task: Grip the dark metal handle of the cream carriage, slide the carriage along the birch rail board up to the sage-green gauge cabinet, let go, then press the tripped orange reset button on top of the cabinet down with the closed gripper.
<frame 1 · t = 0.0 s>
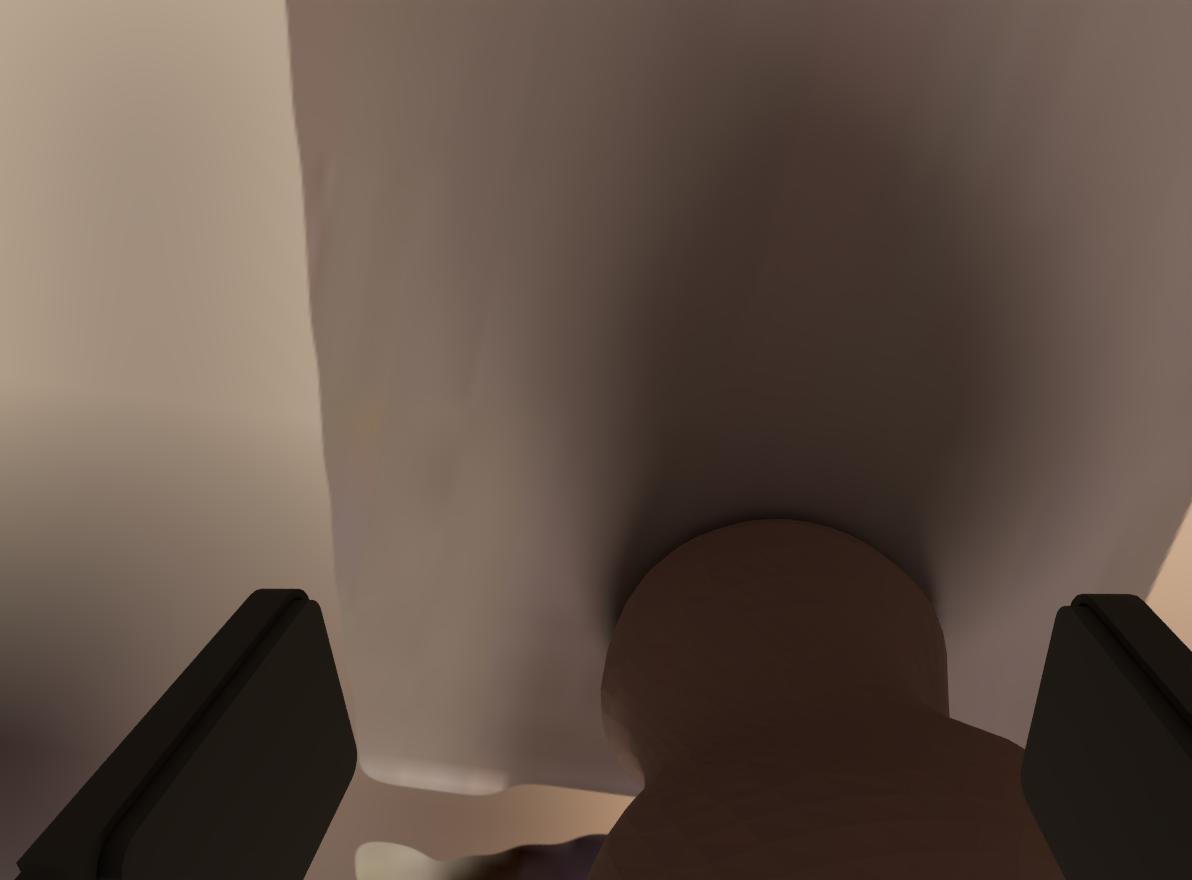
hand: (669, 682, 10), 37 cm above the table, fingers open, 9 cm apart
vase: (782, 667, 56), on the table
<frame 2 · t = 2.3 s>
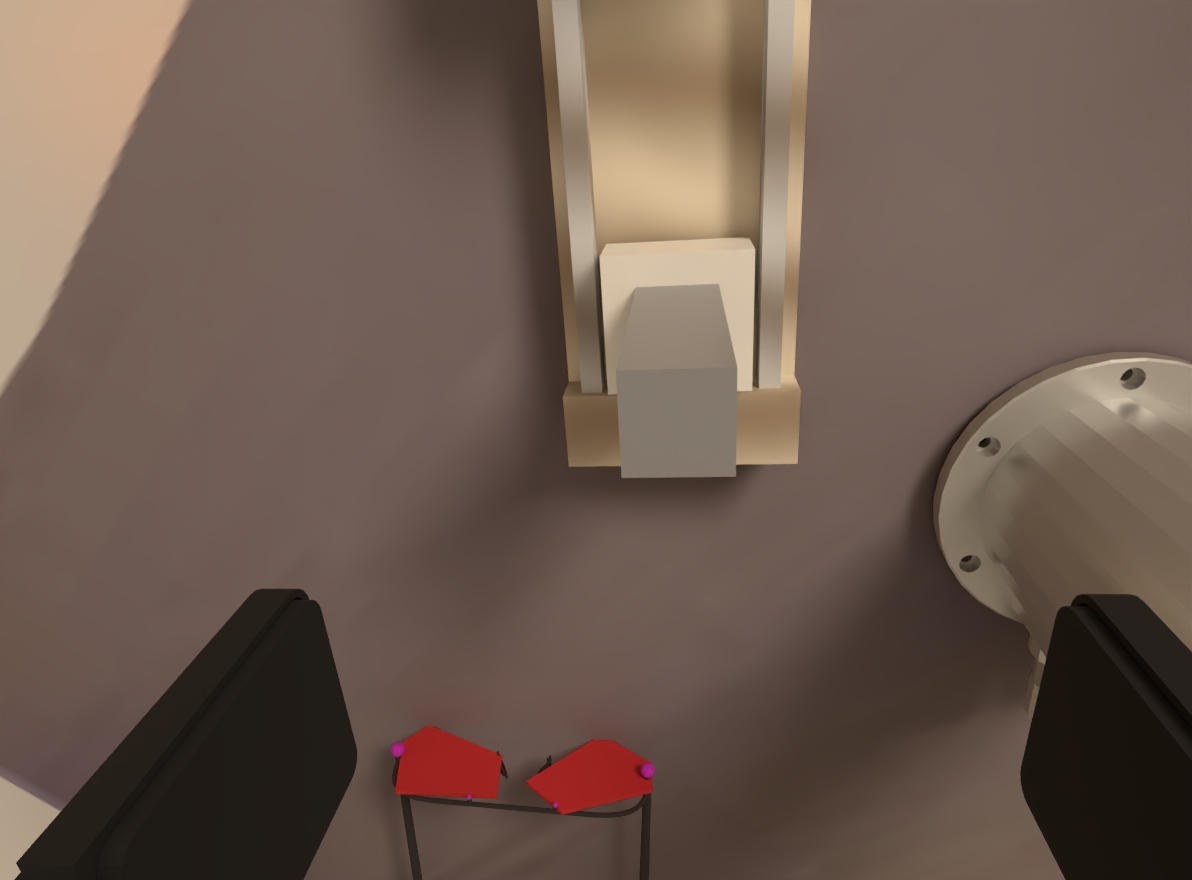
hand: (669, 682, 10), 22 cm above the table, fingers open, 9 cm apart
rail board: (674, 106, 27), on the table
carriage: (677, 352, 23), point 7 cm above the table, slide at 0.0 cm
glasses: (535, 821, 44), on the table
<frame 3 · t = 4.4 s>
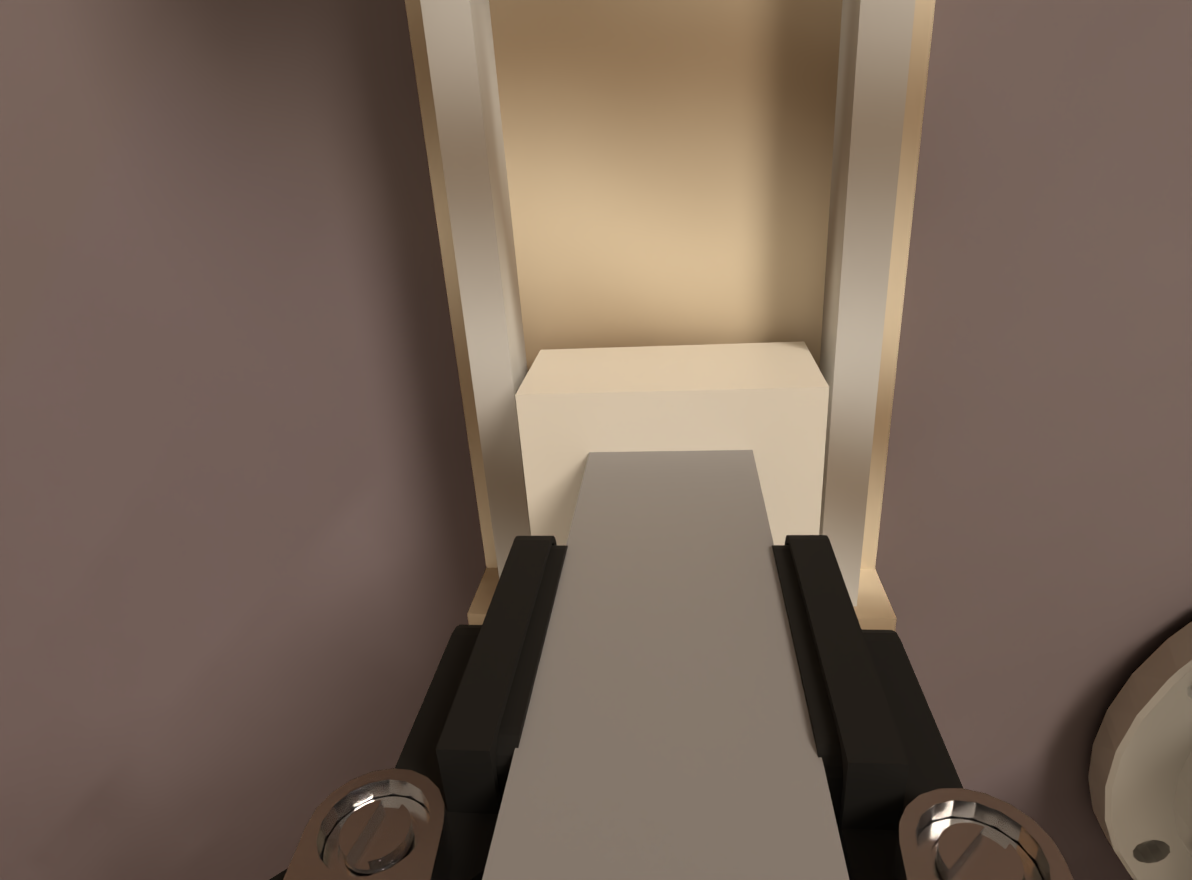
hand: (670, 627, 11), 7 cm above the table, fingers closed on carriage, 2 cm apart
rail board: (665, 97, 14), on the table
carriage: (670, 636, 10), point 7 cm above the table, slide at 0.0 cm, touching gripper
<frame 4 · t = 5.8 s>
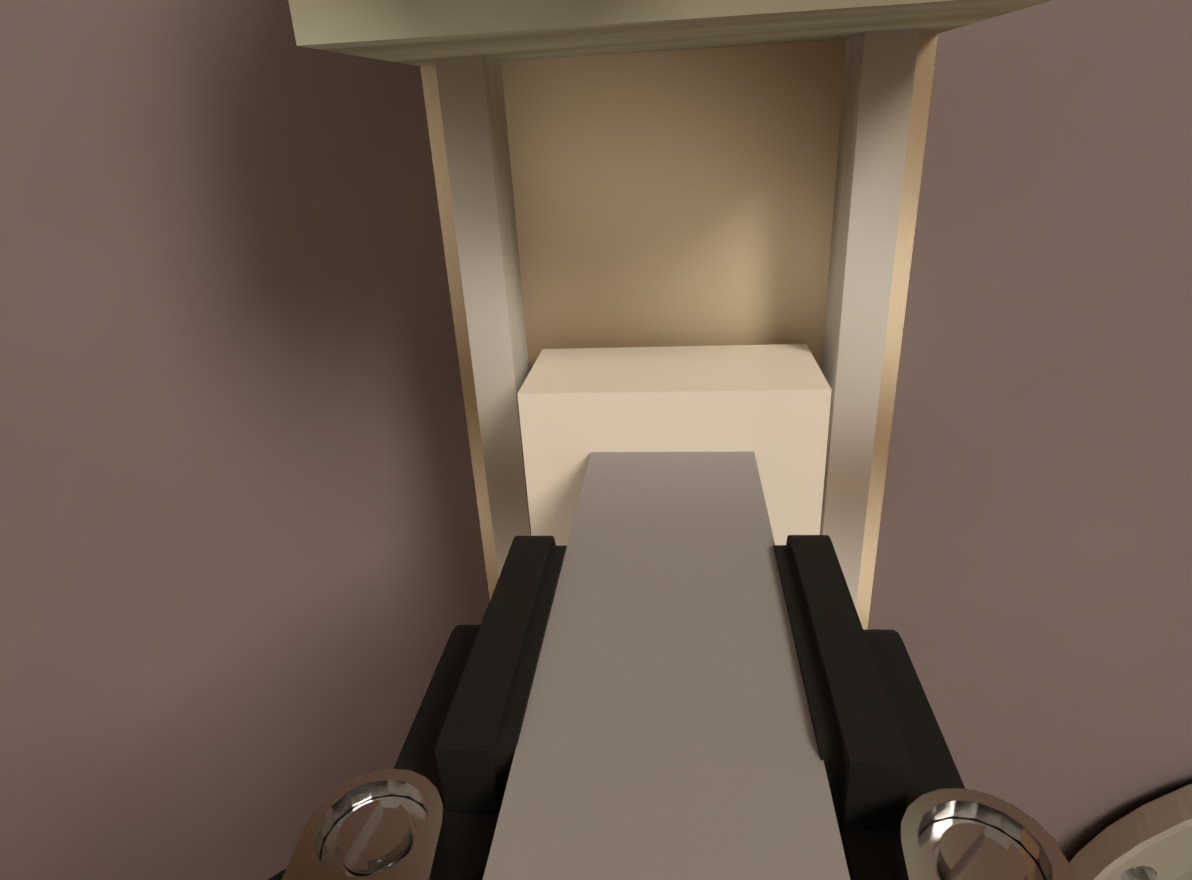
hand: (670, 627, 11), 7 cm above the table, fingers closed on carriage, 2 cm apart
rail board: (673, 400, 17), on the table
carriage: (670, 637, 10), point 7 cm above the table, slide at 6.3 cm, touching gripper
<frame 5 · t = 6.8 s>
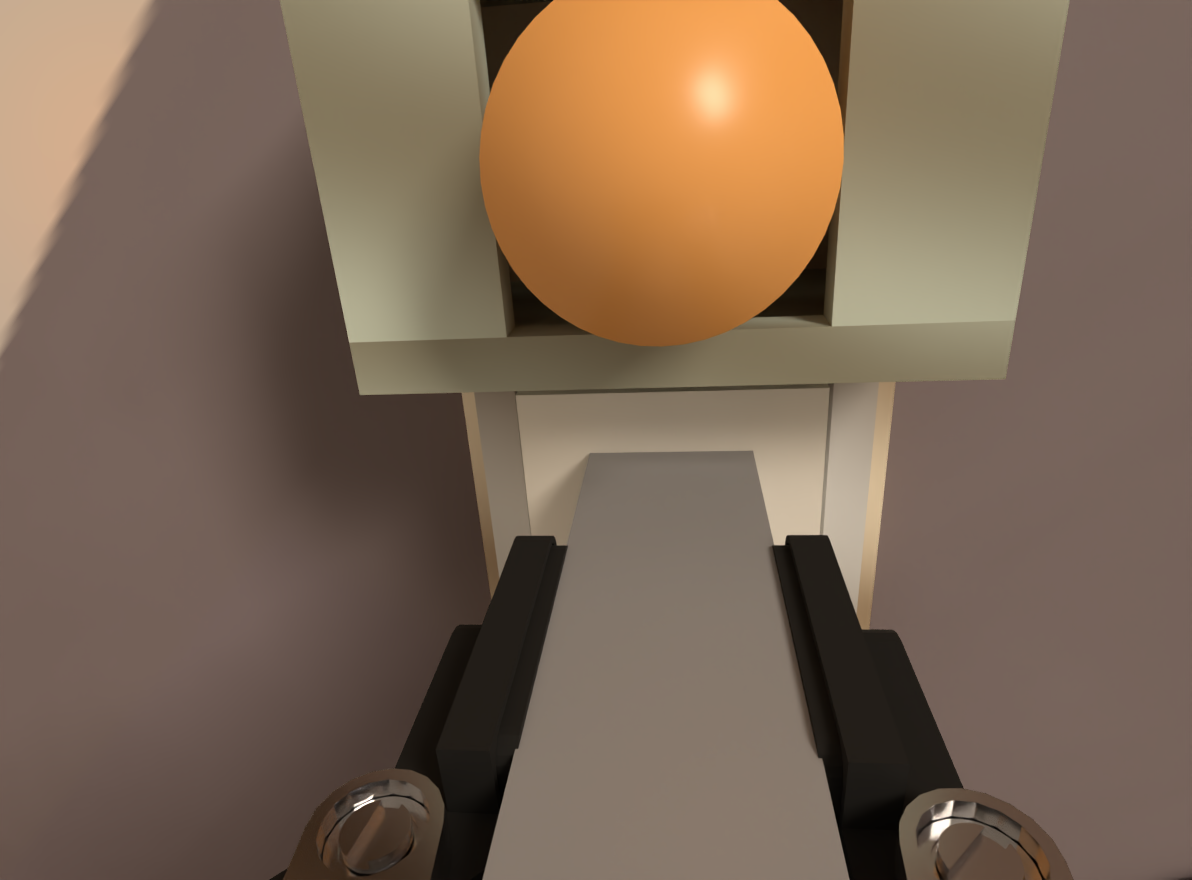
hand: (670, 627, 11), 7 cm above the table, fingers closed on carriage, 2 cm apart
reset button: (660, 162, 9), point 7 cm above the table, slide at 0.0 cm
rail board: (675, 567, 19), on the table
carriage: (670, 637, 10), point 7 cm above the table, slide at 10.8 cm, touching gripper
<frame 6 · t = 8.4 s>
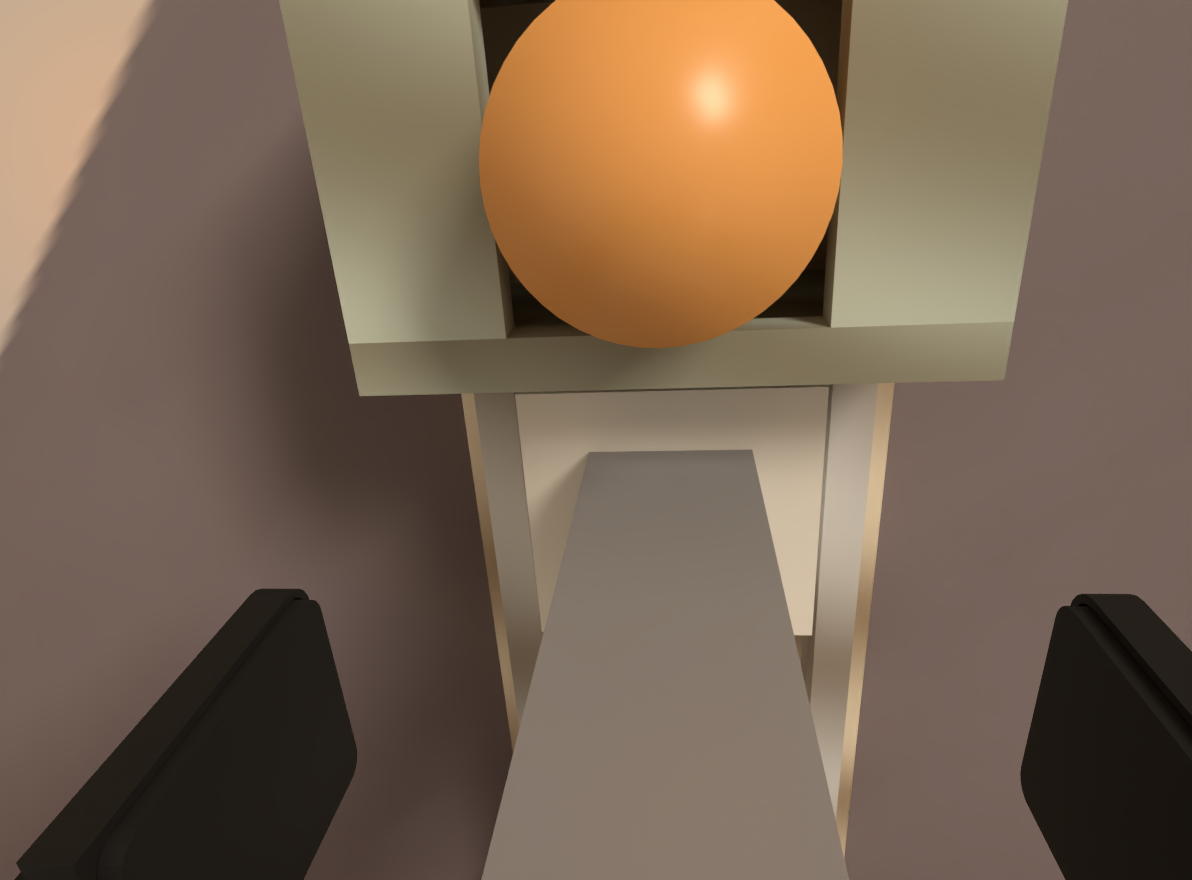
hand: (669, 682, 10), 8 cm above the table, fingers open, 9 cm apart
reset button: (659, 163, 9), point 6 cm above the table, slide at 0.0 cm
rail board: (675, 568, 19), on the table
carriage: (670, 636, 10), point 7 cm above the table, slide at 10.8 cm
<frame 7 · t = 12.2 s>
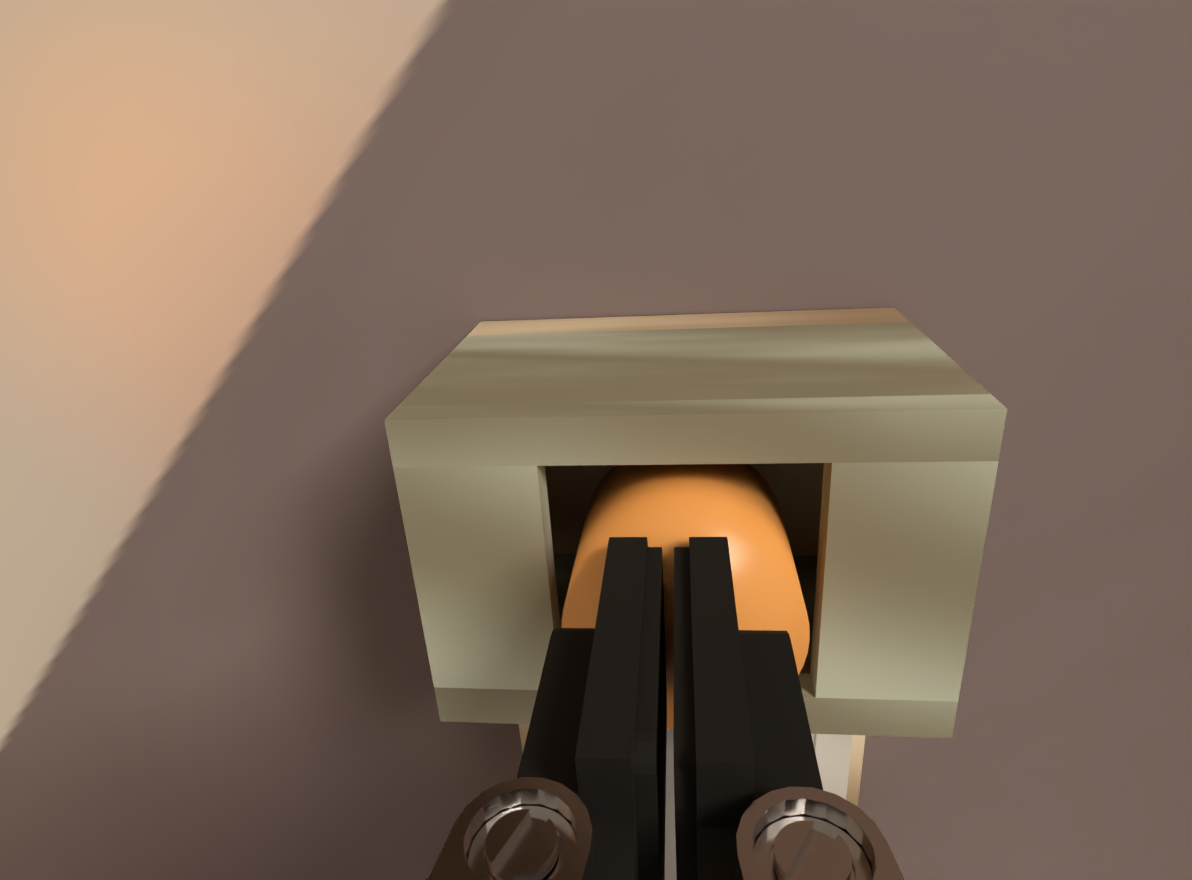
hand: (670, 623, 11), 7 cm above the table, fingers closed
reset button: (683, 578, 12), point 6 cm above the table, slide at 0.8 cm, touching gripper
rail board: (687, 758, 21), on the table
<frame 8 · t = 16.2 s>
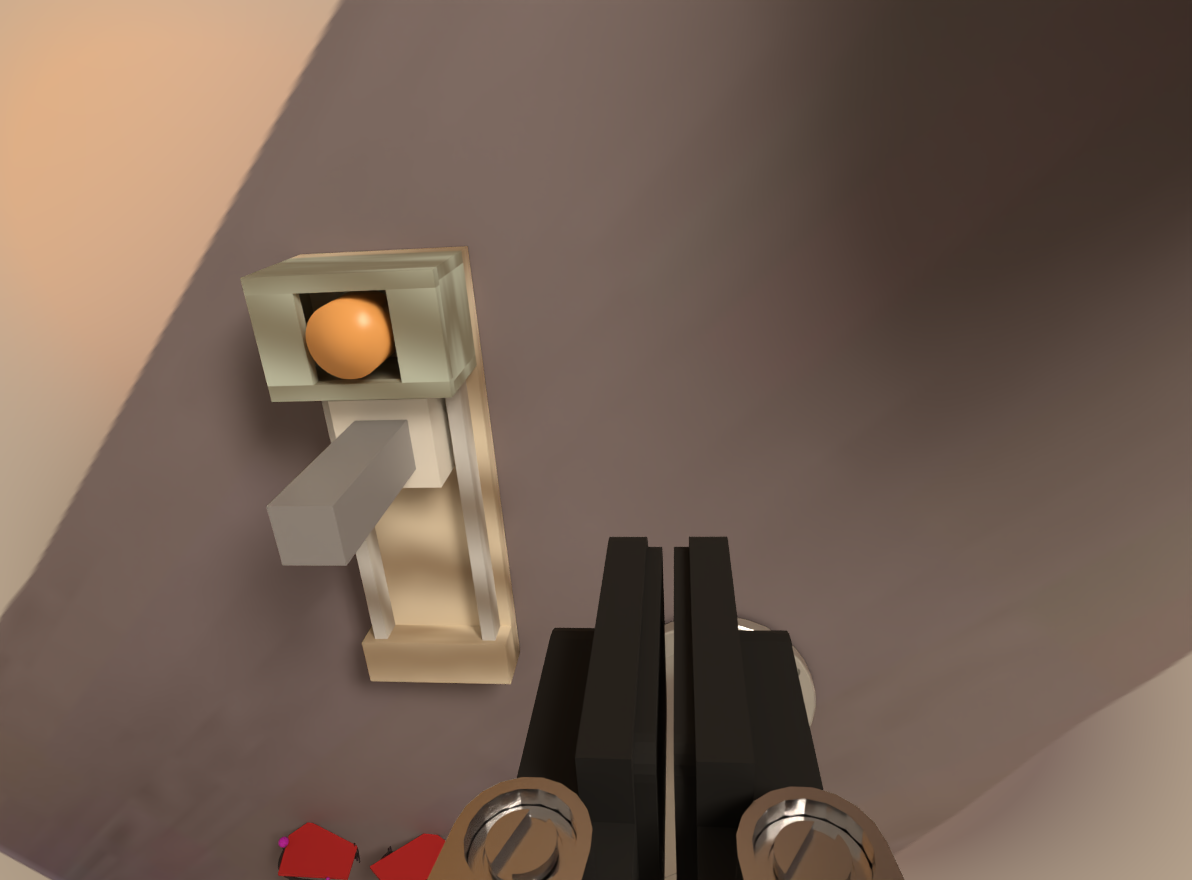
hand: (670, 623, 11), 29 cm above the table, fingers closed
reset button: (356, 332, 35), point 5 cm above the table, slide at 1.5 cm
rail board: (422, 474, 44), on the table
carriage: (361, 472, 35), point 7 cm above the table, slide at 10.8 cm
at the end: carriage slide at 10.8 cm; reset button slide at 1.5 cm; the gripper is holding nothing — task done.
